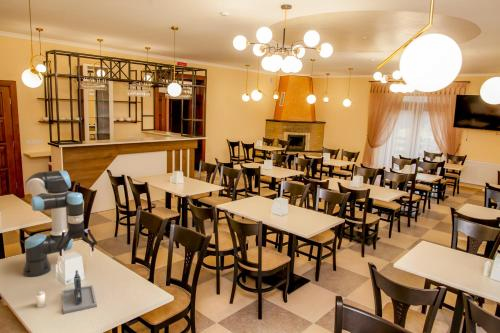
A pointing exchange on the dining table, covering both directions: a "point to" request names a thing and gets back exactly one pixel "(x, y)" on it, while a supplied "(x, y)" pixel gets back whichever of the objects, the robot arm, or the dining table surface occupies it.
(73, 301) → the tray
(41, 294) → the shaker
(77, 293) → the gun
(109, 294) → the dining table surface
